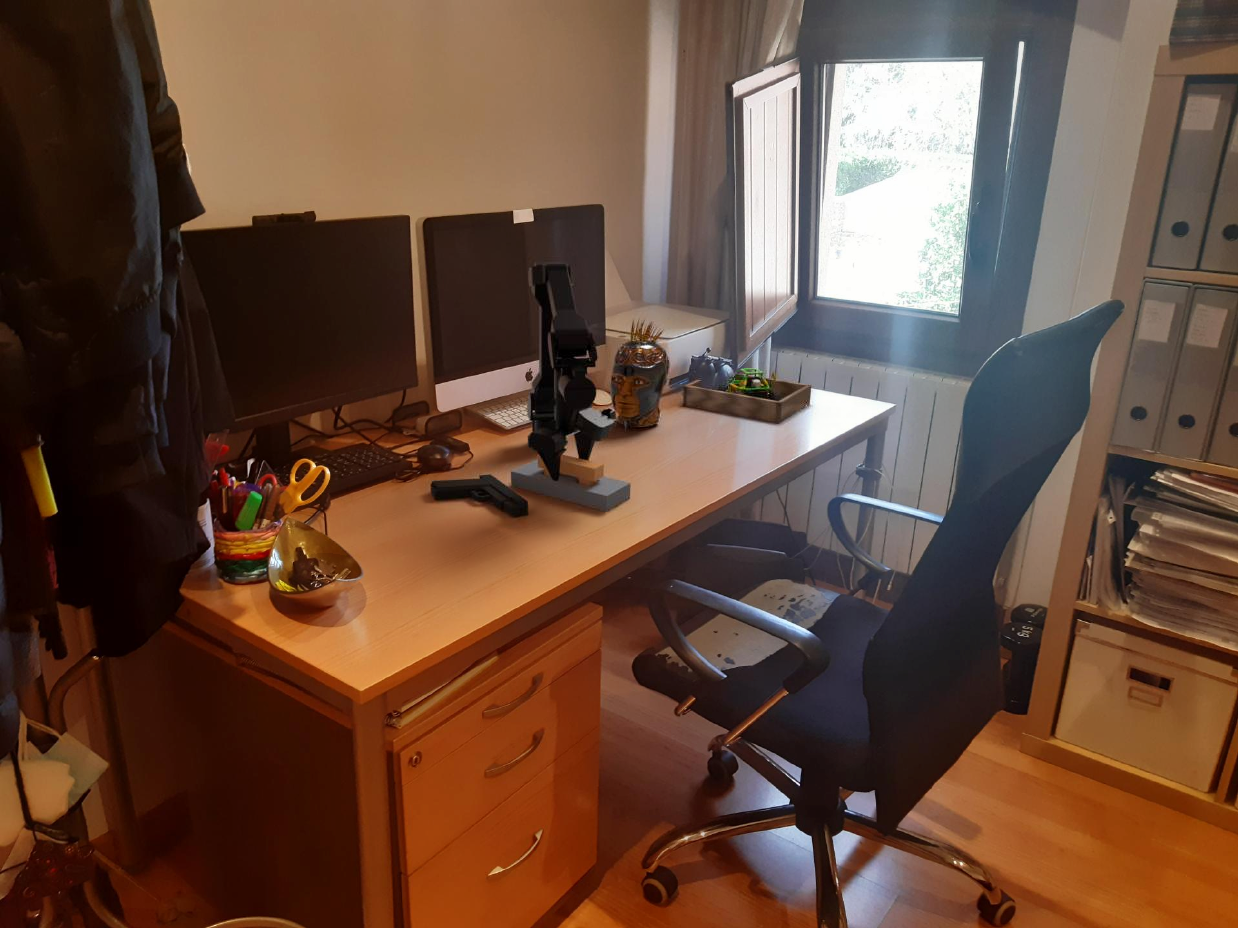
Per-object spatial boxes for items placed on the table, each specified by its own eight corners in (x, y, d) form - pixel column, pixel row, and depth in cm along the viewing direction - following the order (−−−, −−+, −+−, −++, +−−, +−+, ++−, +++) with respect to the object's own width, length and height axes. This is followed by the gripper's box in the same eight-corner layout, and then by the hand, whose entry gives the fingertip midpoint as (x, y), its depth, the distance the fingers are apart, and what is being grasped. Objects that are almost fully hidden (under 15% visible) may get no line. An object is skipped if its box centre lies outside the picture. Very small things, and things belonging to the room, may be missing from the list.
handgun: (466, 515, 155) (529, 502, 161) (425, 480, 171) (484, 469, 177) (467, 531, 156) (530, 517, 162) (426, 495, 172) (485, 483, 178)
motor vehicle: (755, 393, 241) (758, 354, 238) (784, 414, 224) (787, 372, 220) (714, 395, 239) (716, 356, 235) (739, 417, 221) (742, 374, 217)
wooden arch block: (538, 486, 175) (537, 455, 173) (547, 482, 178) (547, 450, 176) (594, 501, 169) (594, 468, 167) (603, 496, 171) (603, 464, 169)
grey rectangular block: (511, 485, 176) (510, 471, 175) (536, 473, 182) (536, 459, 181) (606, 511, 165) (607, 496, 164) (630, 497, 171) (630, 482, 170)
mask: (596, 432, 208) (598, 323, 200) (631, 408, 227) (633, 308, 218) (647, 439, 204) (650, 329, 195) (678, 415, 222) (682, 313, 214)
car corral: (683, 404, 231) (683, 385, 229) (718, 388, 247) (719, 370, 245) (778, 423, 218) (780, 402, 216) (809, 404, 234) (811, 385, 232)
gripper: (577, 413, 155) (576, 498, 161) (634, 389, 170) (632, 468, 176) (525, 402, 161) (526, 484, 166) (585, 380, 176) (584, 456, 181)
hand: (569, 473), depth 172 cm, fingers open, 9 cm apart
